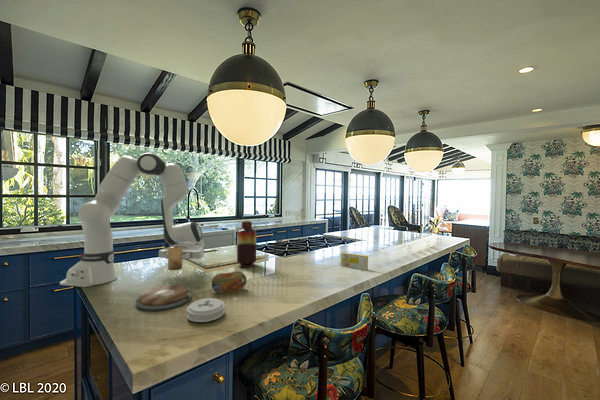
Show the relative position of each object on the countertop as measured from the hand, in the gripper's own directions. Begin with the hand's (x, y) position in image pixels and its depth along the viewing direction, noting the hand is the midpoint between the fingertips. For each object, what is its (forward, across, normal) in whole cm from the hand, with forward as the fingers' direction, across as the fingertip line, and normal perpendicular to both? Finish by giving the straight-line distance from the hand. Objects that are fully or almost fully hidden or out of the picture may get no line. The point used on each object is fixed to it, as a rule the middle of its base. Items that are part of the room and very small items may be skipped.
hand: (174, 257), depth 127 cm
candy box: (-33, +90, +12) cm, 96 cm away
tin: (+5, +27, +14) cm, 30 cm away
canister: (-1, 0, +6) cm, 6 cm away
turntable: (+16, +4, +12) cm, 20 cm away
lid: (+29, +25, +14) cm, 40 cm away
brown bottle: (-36, +26, +13) cm, 47 cm away
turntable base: (+16, +4, +14) cm, 21 cm away
